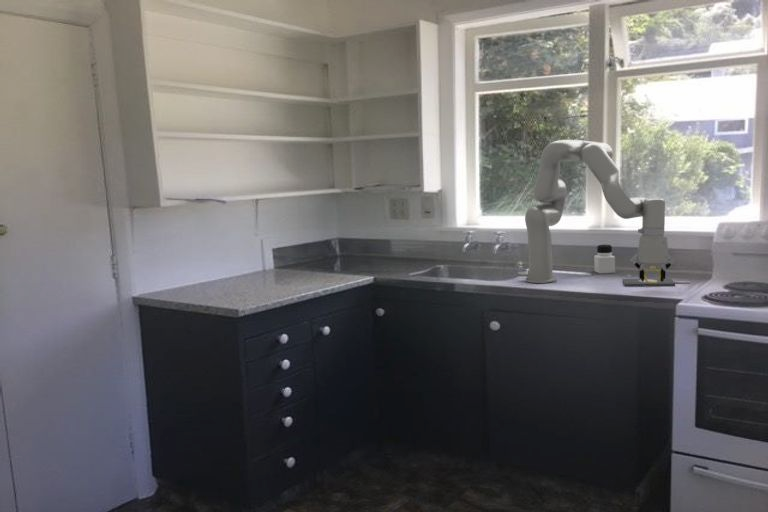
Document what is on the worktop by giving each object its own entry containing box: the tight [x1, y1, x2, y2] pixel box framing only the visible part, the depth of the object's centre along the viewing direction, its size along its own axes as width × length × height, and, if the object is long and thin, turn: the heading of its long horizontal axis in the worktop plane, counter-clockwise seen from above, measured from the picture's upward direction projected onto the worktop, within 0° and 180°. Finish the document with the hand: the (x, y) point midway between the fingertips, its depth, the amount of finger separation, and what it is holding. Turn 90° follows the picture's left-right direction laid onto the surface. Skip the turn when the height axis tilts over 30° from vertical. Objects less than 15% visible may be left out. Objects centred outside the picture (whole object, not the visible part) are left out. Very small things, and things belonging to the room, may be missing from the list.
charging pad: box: [622, 277, 692, 287], centre depth 264 cm, size 24×12×1 cm, turn 74°
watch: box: [644, 266, 661, 283], centre depth 251 cm, size 6×3×6 cm, turn 60°
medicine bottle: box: [593, 244, 616, 275], centre depth 297 cm, size 7×7×12 cm
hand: (652, 280), depth 251 cm, fingers closed on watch, 6 cm apart
